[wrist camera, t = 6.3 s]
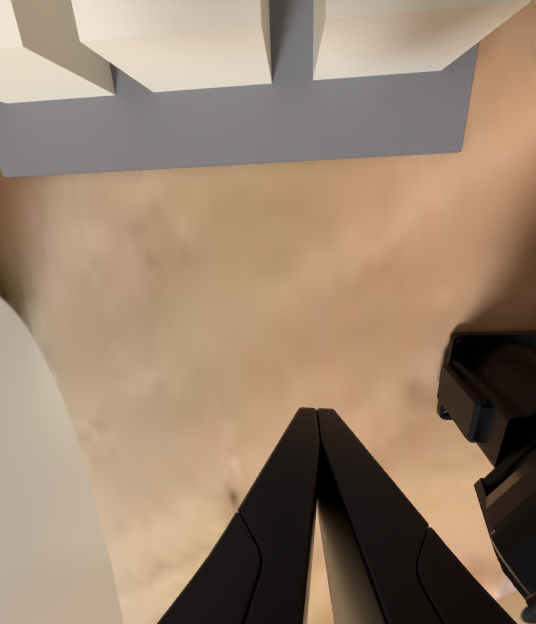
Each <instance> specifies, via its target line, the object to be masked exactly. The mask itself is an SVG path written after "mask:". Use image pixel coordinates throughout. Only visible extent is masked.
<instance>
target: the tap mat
mask: <svg viewBox="0 0 536 624" xmlns="http://www.w3.org/2000/svg"><path fill="white" fill-rule="evenodd" d="M269 16H270V45H271V74H272V83H271V84H257V85H244V86H231V87H218V88H204V89H191V90H178V91H165V92H152V91H151V90H149V89H148V88H147V87H145V86H144V85H142V84H141V83H139V82H138V81H136V80H135V79H133V78H132V77H131V76H129V75H128V74H126V73H125V72H123V71H122V70H120V69H119V68H117V67H116V66H115V65H113V64H112V63H110V62H109V63H110V68H111V73H112V79H113V84H114V89H115V94H116V95H112V96H98V97H85V98H72V99H59V100H45V101H32V102H19V103H3V102H0V168H1V172H2V175H3V177H25V176H43V175H61V174H79V173H97V172H115V171H133V170H151V169H169V168H187V167H205V166H223V165H241V164H259V163H277V162H295V161H313V160H331V159H349V158H367V157H385V156H403V155H421V154H439V153H457V152H461V150H462V144H463V138H464V131H465V125H466V119H467V113H468V106H469V100H470V94H471V88H472V82H473V75H474V69H475V63H476V57H477V50H478V44H479V42H478V43H476V44H475V45H474V46H473V47H471V48H470V49H469V50H467V51H466V52H465V53H463V54H462V55H461V56H460V57H458V58H457V59H456V60H454V61H453V62H452V63H451V64H449V65H448V66H447V67H445V68H444V69H443V70H441V71H430V72H416V73H403V74H390V75H377V76H363V77H350V78H337V79H324V80H313V0H269Z"/></svg>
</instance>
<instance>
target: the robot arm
mask: <svg viewBox="0 0 536 624" xmlns="http://www.w3.org/2000/svg"><path fill="white" fill-rule="evenodd" d="M459 339H462V341H461V342H460V343H457V341H458V340H459ZM437 398H438V399H439V401H438V407H437V413H438V415H439V416H440V418H442V419H444V420H453V421H454V422H455V424H456V425H457V427H458V428H459V429H460V431H461V432H462V434H463V435H464V437H465V438H466V439H467V440H468V441H469V442H470V443H477V445H478V446H479V447H480V449H481V450H482V452H483V453H484V454H485V456H486V457H487V458H488V460H489V461H490V463H491V464H492V465H493V467H494V469H493V470H492V471H491V472H490V473H489V474H488V475H487V476H486V477H485V478H484V479H483V478H480V479H479V480H478V481H477V482H476V483H475V484H474V487H475V491H476V494H477V497H478V500H479V503H480V507H481V510H482V513H483V516H484V519H485V523H486V526H487V529H488V532H489V535H490V539H491V542H492V545H493V548H494V551H495V554H496V556H497V559H498V561H499V563H500V565H501V568H502V570H503V572H504V573H505V575H506V576H507V577H508V578H509V579H510V581H511V582H512V583H513V585H514V586H515V588H516V589H517V590H518V591H519V592H520V594H521V595H522V596H523V597H524V599H525V600H526V603H527V605H528V606H529V608H530V609H531V610H532V611H533V612H534V613H535V614H536V331H524V332H458V333H455V334H453V335H452V336H451V338H450V342H449V347H448V353H447V358H446V363H445V364H444V365H443V367H442V372H441V377H440V383H439V388H438V394H437ZM445 411H447V412H446V413H444V412H445ZM316 507H317V508H318V516H319V523H320V530H321V537H322V544H323V550H324V557H325V564H326V570H327V577H328V584H329V591H330V597H331V604H332V611H333V617H334V624H517V623H516V622H515V621H514V620H513V619H512V618H511V617H510V616H509V615H508V614H507V612H506V611H505V610H504V609H503V608H502V607H501V606H500V605H499V604H498V603H497V602H496V601H495V599H494V598H493V597H492V596H491V595H490V594H489V593H488V592H487V591H486V590H485V589H484V588H483V587H482V586H481V584H480V583H479V582H478V581H477V580H476V579H475V578H474V577H473V576H472V575H471V573H470V572H469V571H468V570H467V569H466V568H465V566H464V565H463V564H462V563H461V562H460V561H459V559H458V558H457V557H456V556H455V555H454V554H453V553H452V551H451V550H450V549H449V548H448V547H447V546H446V544H445V543H444V542H443V541H442V539H441V538H440V537H439V536H438V535H437V533H436V532H435V531H434V530H433V529H432V528H431V527H429V525H428V523H427V522H426V520H425V519H424V518H423V517H422V515H421V514H420V513H419V512H418V511H417V509H416V508H415V507H414V506H413V505H412V503H411V502H410V501H409V500H408V499H407V497H406V496H405V495H404V494H403V492H402V491H401V490H400V489H399V488H398V486H397V485H396V484H395V483H394V482H393V480H392V479H391V478H390V477H389V476H388V474H387V473H386V472H385V471H384V469H383V468H382V467H381V466H380V465H379V463H378V462H377V461H376V460H375V459H374V457H373V456H372V455H371V454H370V453H369V451H368V450H367V449H366V448H365V446H364V445H363V444H362V443H361V442H360V440H359V439H358V438H357V437H356V436H355V434H354V433H353V432H352V431H351V429H350V428H349V427H348V426H347V425H346V423H345V422H344V421H343V420H342V419H341V417H340V416H339V415H338V414H337V413H336V411H335V410H333V409H327V408H318V409H317V411H316V409H315V408H306V407H301V408H299V409H298V411H297V412H296V414H295V416H294V417H293V419H292V421H291V422H290V424H289V425H288V427H287V429H286V430H285V432H284V434H283V435H282V437H281V439H280V440H279V442H278V444H277V445H276V447H275V449H274V450H273V452H272V454H271V455H270V457H269V459H268V460H267V462H266V464H265V465H264V467H263V468H262V470H261V472H260V473H259V475H258V477H257V478H256V480H255V482H254V483H253V485H252V487H251V488H250V490H249V492H248V493H247V495H246V497H245V498H244V500H243V502H242V503H241V505H240V507H239V508H238V511H237V512H238V513H235V514H234V516H233V518H232V519H231V521H230V523H229V524H228V526H227V528H226V529H225V531H224V532H223V534H222V536H221V537H220V539H219V540H218V542H217V543H216V545H215V546H214V548H213V549H212V551H211V552H210V554H209V556H208V557H207V558H206V560H205V561H204V562H203V564H202V565H201V566H200V568H199V569H198V571H197V572H196V573H195V575H194V576H193V577H192V579H191V580H190V581H189V583H188V584H187V585H186V587H185V588H184V589H183V591H182V592H181V593H180V595H179V596H178V597H177V598H176V600H175V601H174V602H173V604H172V605H171V606H170V607H169V609H168V610H167V611H166V613H165V614H164V615H163V617H162V618H161V619H160V620H159V622H158V623H157V624H307V618H308V606H309V594H310V582H311V570H312V558H313V545H314V533H315V521H316ZM428 527H429V528H428Z"/></svg>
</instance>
